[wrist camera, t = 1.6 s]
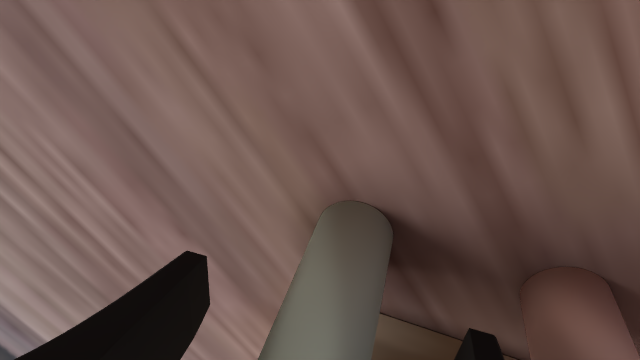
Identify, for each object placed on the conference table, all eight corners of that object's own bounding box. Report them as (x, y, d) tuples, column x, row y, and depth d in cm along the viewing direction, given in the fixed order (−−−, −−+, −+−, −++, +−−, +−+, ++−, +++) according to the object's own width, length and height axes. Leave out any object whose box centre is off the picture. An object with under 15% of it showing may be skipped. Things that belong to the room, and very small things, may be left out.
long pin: (402, 214, 13) (360, 470, 7) (381, 269, 15) (332, 521, 9) (325, 191, 14) (221, 417, 7) (312, 248, 15) (217, 475, 9)
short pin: (629, 282, 12) (694, 413, 9) (584, 334, 14) (624, 463, 11) (542, 256, 13) (573, 373, 9) (506, 309, 14) (522, 426, 11)
